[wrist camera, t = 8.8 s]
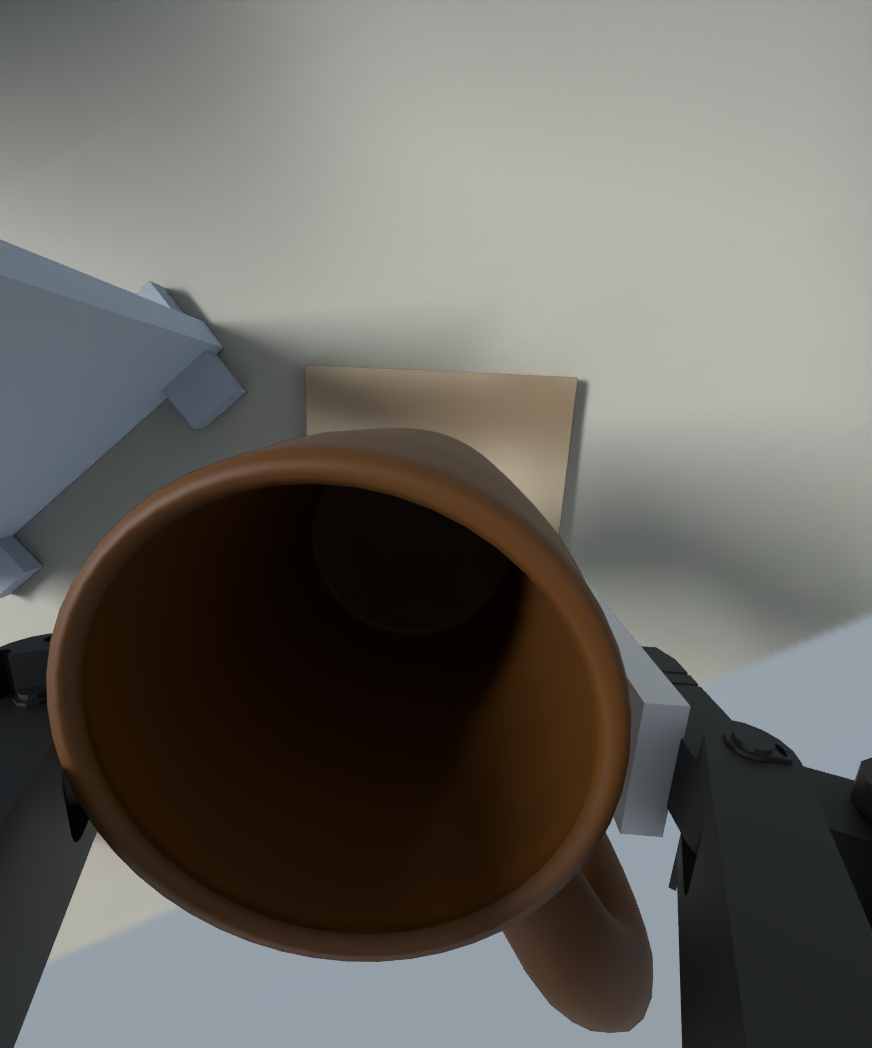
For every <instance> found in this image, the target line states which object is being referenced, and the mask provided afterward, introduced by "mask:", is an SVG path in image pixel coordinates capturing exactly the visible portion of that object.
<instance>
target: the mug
mask: <svg viewBox="0 0 872 1048" xmlns="http://www.w3.org/2000/svg"><path fill="white" fill-rule="evenodd" d="M46 680H47V708H48V714H49V720H50V725H51V731H52V737H53V741H54V744H55V747H56V750H57V753H58V756H59V760H60V763H61V766H62V769H63V771H64V773H65V776H66V778H67V780H68V782H69V784H70V786H71V788H72V790H73V793H74V795H75V797H76V799H77V801H78V802H79V804H80V805H81V807H82V808H83V810H84V812H85V813H86V815H87V816H88V818H89V820H90V821H91V823H92V824H93V826H94V827H95V829H96V830H97V831H98V832H99V834H100V835H101V836H102V837H103V839H104V840H105V841H106V842H107V844H108V845H109V846H110V847H111V849H112V850H113V851H114V852H115V853H116V854H117V855H118V856H119V857H120V858H121V859H122V860H123V861H124V862H125V863H126V864H127V865H128V866H129V867H130V868H131V869H132V870H133V871H134V872H135V873H136V874H137V875H138V876H139V877H140V878H141V879H143V880H144V881H145V882H146V883H148V884H149V885H150V886H151V887H153V888H154V889H155V890H156V891H158V892H159V893H160V894H161V895H163V896H164V897H165V898H167V899H168V900H170V901H172V902H173V903H175V904H176V905H178V906H179V907H181V908H182V909H184V910H185V911H187V912H188V913H190V914H192V915H193V916H195V917H198V918H199V919H201V920H203V921H205V922H207V923H209V924H211V925H213V926H215V927H216V928H218V929H220V930H223V931H225V932H227V933H230V934H232V935H235V936H238V937H240V938H242V939H245V940H247V941H250V942H252V943H256V944H259V945H262V946H266V947H269V948H273V949H276V950H279V951H282V952H287V953H292V954H297V955H302V956H307V957H312V958H320V959H330V960H338V961H359V962H360V961H361V962H380V961H393V960H404V959H413V958H418V957H423V956H428V955H433V954H439V953H443V952H447V951H450V950H453V949H456V948H459V947H463V946H466V945H470V944H473V943H475V942H477V941H480V940H482V939H485V938H487V937H489V936H492V935H494V934H496V933H499V932H501V931H503V933H504V934H505V936H506V938H507V940H508V942H509V943H510V945H511V947H512V948H513V950H514V952H515V954H516V956H517V957H518V959H519V961H520V963H521V964H522V966H523V968H524V970H525V972H526V973H527V974H528V975H529V977H530V978H531V980H532V981H533V982H534V984H535V985H536V986H537V988H538V989H539V990H540V991H541V993H542V994H543V996H544V997H545V998H546V999H547V1001H548V1002H549V1003H550V1005H552V1006H553V1007H554V1008H555V1009H557V1010H558V1011H559V1012H561V1013H562V1014H563V1015H564V1016H565V1017H567V1018H568V1019H569V1020H571V1021H572V1022H573V1023H576V1024H578V1025H580V1026H582V1027H584V1028H586V1029H588V1030H590V1031H597V1032H607V1033H614V1032H627V1031H630V1030H631V1029H632V1028H633V1027H635V1026H636V1025H637V1024H638V1023H639V1022H640V1021H641V1020H642V1019H644V1016H645V1013H646V1011H647V1008H648V1005H649V1003H650V1000H651V998H652V984H653V958H652V952H651V948H650V944H649V940H648V936H647V932H646V928H645V925H644V922H643V919H642V916H641V914H640V911H639V908H638V905H637V902H636V900H635V897H634V894H633V892H632V890H631V887H630V885H629V882H628V880H627V878H626V875H625V873H624V870H623V868H622V866H621V864H620V862H619V860H618V857H617V855H616V853H615V851H614V849H613V847H612V844H611V842H610V840H609V838H608V836H607V834H606V830H607V828H608V826H609V825H610V823H611V820H612V818H613V815H614V813H615V810H616V807H617V805H618V802H619V799H620V797H621V794H622V791H623V786H624V781H625V776H626V772H627V767H628V762H629V755H630V739H631V720H632V714H631V705H630V696H629V687H628V680H627V676H626V672H625V669H624V665H623V661H622V657H621V654H620V650H619V646H618V644H617V642H616V639H615V637H614V635H613V632H612V630H611V628H610V625H609V623H608V621H607V618H606V616H605V614H604V612H603V610H602V608H601V606H600V604H599V603H598V601H597V599H596V597H595V596H594V594H593V593H592V591H591V589H590V588H589V586H588V585H587V583H586V581H585V579H584V578H583V576H582V574H581V572H580V570H579V568H578V566H577V564H576V562H575V560H574V559H573V557H572V556H571V554H570V552H569V551H568V549H567V548H566V546H565V544H564V543H563V541H562V539H561V538H560V536H559V535H558V533H557V532H556V531H555V529H554V528H553V527H552V526H551V524H550V523H549V522H548V521H547V520H546V518H545V517H544V516H543V515H542V514H541V513H540V511H539V510H538V509H537V508H536V507H535V505H534V504H533V503H532V502H531V501H530V500H529V499H528V498H527V497H526V496H525V495H524V494H523V493H522V492H521V491H520V489H519V488H518V487H517V486H516V485H515V484H514V483H513V482H512V481H511V480H510V479H509V478H508V477H507V476H506V475H504V474H503V473H502V472H501V471H500V470H499V469H498V468H497V467H496V466H495V465H494V464H493V463H491V462H490V461H489V460H488V459H487V458H486V457H485V456H484V455H482V454H481V453H479V452H478V451H476V450H475V449H473V448H472V447H471V446H469V445H467V444H465V443H463V442H461V441H459V440H457V439H455V438H453V437H450V436H447V435H444V434H441V433H438V432H433V431H429V430H424V429H413V428H378V429H362V430H347V431H333V432H324V433H318V434H313V435H308V436H304V437H299V438H294V439H289V440H285V441H282V442H279V443H276V444H273V445H271V446H268V447H265V448H262V449H259V450H257V451H253V452H248V453H244V454H241V455H238V456H235V457H232V458H229V459H226V460H223V461H221V462H218V463H215V464H212V465H210V466H207V467H204V468H201V469H198V470H196V471H193V472H191V473H189V474H187V475H185V476H183V477H182V478H180V479H178V480H176V481H174V482H172V483H170V484H168V485H167V486H165V487H163V488H161V489H159V490H157V491H156V492H155V493H153V494H152V495H151V496H149V497H148V498H147V499H145V500H144V501H143V502H141V503H140V504H139V505H137V506H136V507H135V508H133V509H132V510H131V511H129V512H128V513H127V514H126V515H125V516H124V517H123V518H122V519H121V520H120V521H119V522H118V523H117V524H116V525H115V526H114V527H113V528H112V529H111V530H110V531H109V532H108V533H107V535H106V536H105V537H104V538H103V539H102V540H101V541H100V542H99V544H98V545H97V546H96V548H95V549H94V550H93V552H92V553H91V555H90V556H89V558H88V559H87V561H86V562H85V563H84V565H83V566H82V568H81V569H80V571H79V572H78V574H77V575H76V576H75V578H74V580H73V582H72V584H71V586H70V588H69V591H68V593H67V595H66V597H65V599H64V601H63V603H62V605H61V607H60V610H59V613H58V617H57V620H56V624H55V627H54V630H53V634H52V637H51V641H50V648H49V656H48V664H47V673H46Z"/></svg>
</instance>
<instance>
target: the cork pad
mask: <svg viewBox="0 0 872 1048" xmlns="http://www.w3.org/2000/svg"><path fill="white" fill-rule="evenodd" d="M577 378H578V377H557V376H535V375H513V374H491V373H469V372H446V371H424V370H402V369H380V368H358V367H336V366H313V365H305V389H306V430H307V436H308V435H313V434H318V433H324V432H333V431H347V430H362V429H378V428H413V429H424V430H429V431H433V432H438V433H441V434H444V435H447V436H450V437H453V438H455V439H457V440H459V441H461V442H463V443H465V444H467V445H469V446H471V447H472V448H473V449H475V450H476V451H478V452H479V453H481V454H482V455H484V456H485V457H486V458H487V459H488V460H489V461H490V462H491V463H493V464H494V465H495V466H496V467H497V468H498V469H499V470H500V471H501V472H502V473H503V474H504V475H506V476H507V477H508V478H509V479H510V480H511V481H512V482H513V483H514V484H515V485H516V486H517V487H518V488H519V489H520V491H521V492H522V493H523V494H524V495H525V496H526V497H527V498H528V499H529V500H530V501H531V502H532V503H533V504H534V505H535V507H536V508H537V509H538V510H539V511H540V513H541V514H542V515H543V516H544V517H545V518H546V520H547V521H548V522H549V523H550V524H551V526H552V527H553V528H554V529H555V531H556V532H557V533H558V535H559V527H560V519H561V510H562V502H563V494H564V485H565V477H566V469H567V461H568V452H569V444H570V436H571V427H572V419H573V411H574V403H575V394H576V386H577Z"/></svg>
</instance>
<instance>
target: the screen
mask: <svg viewBox="0 0 872 1048" xmlns="http://www.w3.org/2000/svg"><path fill="white" fill-rule="evenodd" d="M223 348H224V347H223V346H222V345H221V344H220V342H219V341H218V340H217V338H216V337H215V336H214V335H213V333H212V332H211V331H210V330H209V328H208V327H207V326H206V324H205V323H204V322H203V321H201V320H199V319H196V318H194V317H191V316H189V315H186V314H184V312H183V311H182V310H181V309H180V307H179V306H178V305H177V304H176V302H175V301H174V300H173V298H172V297H171V296H170V295H169V293H168V292H167V291H166V290H165V288H164V287H162V286H160V285H157V284H155V283H153V282H151V281H148V282H147V283H146V284H145V285H144V286H143V287H142V288H141V289H140V290H139V291H138V292H137V293H136V294H134V293H132V292H129V291H127V290H124V289H122V288H119V287H117V286H114V285H112V284H109V283H107V282H104V281H102V280H99V279H97V278H94V277H92V276H89V275H87V274H84V273H82V272H79V271H77V270H74V269H72V268H70V267H67V266H65V265H62V264H60V263H57V262H55V261H52V260H50V259H47V258H45V257H42V256H40V255H37V254H35V253H32V252H30V251H27V250H25V249H22V248H20V247H17V246H15V245H12V244H10V243H7V242H5V241H3V240H0V598H2V597H5V596H7V595H10V594H11V593H12V592H13V591H14V590H16V589H17V588H18V587H19V586H20V585H21V584H23V583H24V582H25V581H26V580H27V579H28V578H30V577H31V576H32V575H33V574H34V573H36V572H37V571H38V570H39V569H40V568H41V567H43V566H42V565H41V564H40V563H39V562H38V561H37V560H36V559H35V558H34V557H33V556H32V554H31V553H30V552H29V551H28V550H27V549H26V548H25V547H24V546H23V545H22V544H21V543H20V542H19V541H18V540H17V539H16V538H15V537H14V536H13V535H14V534H15V533H16V532H17V531H18V530H20V529H21V528H22V527H23V526H24V525H25V524H26V523H27V522H29V521H30V520H31V519H32V518H33V517H34V516H35V515H36V514H38V513H39V512H40V511H41V510H42V509H43V508H44V507H45V506H47V505H48V504H49V503H50V502H51V501H52V500H53V499H54V498H56V497H57V496H58V495H59V494H60V493H61V492H62V491H63V490H64V489H66V488H67V487H68V486H69V485H70V484H71V483H72V482H73V481H75V480H76V479H77V478H78V477H79V476H80V475H81V474H82V473H84V472H85V471H86V470H87V469H88V468H89V467H90V466H91V465H93V464H94V463H95V462H96V461H97V460H98V459H99V458H100V457H102V456H103V455H104V454H105V453H106V452H107V451H108V450H109V449H111V448H112V447H113V446H114V445H115V444H116V443H117V442H118V441H119V440H121V439H122V438H123V437H124V436H125V435H126V434H127V433H128V432H130V431H131V430H132V429H133V428H134V427H135V426H136V425H137V424H139V423H140V422H141V421H142V420H143V419H144V418H145V417H146V416H148V415H149V414H150V413H151V412H152V411H153V410H154V409H155V408H157V407H158V406H159V405H160V404H161V403H162V402H163V401H164V400H166V399H167V398H168V399H169V401H170V402H171V403H172V404H173V405H174V407H175V408H176V409H177V410H178V411H179V413H180V414H181V415H182V416H183V417H184V419H185V420H186V421H187V422H188V423H189V425H190V426H191V427H192V428H205V427H206V426H208V425H209V424H210V423H211V422H212V421H213V420H215V419H216V418H217V417H218V416H219V415H221V414H222V413H223V412H224V411H225V410H226V409H228V408H229V407H230V406H231V405H232V404H233V403H235V402H236V401H237V400H238V399H239V398H240V397H242V396H243V395H244V394H245V393H246V391H245V390H244V388H243V387H242V386H241V385H240V383H239V382H238V381H237V379H236V378H235V377H234V376H233V374H232V373H231V372H230V371H229V369H228V368H227V367H226V366H225V364H224V363H223V362H222V360H221V359H220V358H219V357H218V355H217V353H218V352H219V351H221V350H222V349H223Z"/></svg>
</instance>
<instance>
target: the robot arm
mask: <svg viewBox="0 0 872 1048" xmlns="http://www.w3.org/2000/svg"><path fill="white" fill-rule="evenodd" d="M583 578H584V577H583ZM585 581H586V580H585ZM586 583H587V585H588V586H589V588H590V589H591V591H592V593H593V594H594V596H595V597H596V599H597V601H598V603H599V604H600V606H601V608H602V610H603V612H604V614H605V616H606V618H607V621H608V623H609V625H610V628H611V630H612V632H613V635H614V637H615V639H616V642H617V644H618V646H619V650H620V654H621V657H622V661H623V665H624V669H625V672H626V676H627V680H628V687H629V696H630V705H631V714H632V720H631V739H630V755H629V762H628V767H627V772H626V776H625V781H624V786H623V791H622V794H621V797H620V799H619V802H618V805H617V807H616V810H615V813H614V815H613V817H614V819H615V822H616V824H617V827H618V829H619V831H620V833H622V834H634V835H645V836H657V837H658V836H659V837H663V832H664V827H665V822H666V818H667V814H668V810H669V812H670V814H671V815H672V817H673V819H674V821H675V823H676V824H677V826H678V828H679V830H680V832H681V835H680V839H679V844H678V848H677V853H676V857H675V861H674V866H673V870H672V874H671V879H670V883H669V888H671V889H673V890H676V888H677V890H678V891H677V892H678V925H679V958H680V988H681V989H680V990H681V1021H682V1022H681V1023H682V1048H872V758H869V759H866V760H864V761H861V764H860V767H859V770H858V773H857V776H856V779H855V781H854V780H850V779H847V778H843V777H840V776H836V775H832V774H829V773H825V772H822V771H818V770H814V769H811V768H807V767H804V766H803V765H802V763H801V762H800V760H799V759H798V757H797V756H796V755H795V753H794V752H793V751H792V750H791V749H790V748H789V747H787V746H786V745H785V744H784V743H783V742H781V741H780V740H779V739H777V738H775V737H774V736H772V735H770V734H768V733H767V732H765V731H763V730H761V729H758V728H756V727H753V726H751V725H748V724H745V723H741V722H737V721H732V720H731V719H730V718H729V717H728V716H727V715H726V714H725V713H724V711H723V710H722V709H721V708H720V707H719V706H718V705H717V704H716V703H715V702H714V701H713V700H712V699H711V697H710V696H709V695H708V694H707V693H706V692H705V691H704V690H703V689H702V688H701V687H698V684H697V682H696V681H695V680H694V679H693V678H692V677H691V676H690V675H687V672H686V671H685V670H684V668H683V667H682V666H681V665H680V664H679V663H678V662H677V661H676V660H675V659H674V658H672V657H670V656H669V655H667V654H666V653H664V652H662V651H661V650H659V649H658V648H656V647H642V646H640V645H639V644H638V642H637V641H636V640H635V639H634V638H633V636H632V635H631V634H630V633H629V632H628V630H627V629H626V628H625V627H624V626H623V624H622V623H621V622H620V621H619V619H618V618H617V617H616V616H615V615H614V613H613V612H612V611H611V610H610V609H609V607H608V606H607V605H606V604H605V603H604V601H603V600H602V599H601V598H600V597H599V595H598V594H597V593H596V592H595V591H594V589H593V588H592V587H591V586H590V585H589V583H588V582H587V581H586ZM52 634H53V633H52ZM52 634H45V635H39V636H33V637H29V638H26V639H22V640H19V641H15V642H12V643H9V644H7V645H4V646H2V647H0V1048H14V1045H15V1042H16V1040H17V1037H18V1035H19V1032H20V1030H21V1027H22V1025H23V1022H24V1020H25V1017H26V1014H27V1012H28V1009H29V1007H30V1004H31V1001H32V999H33V996H34V994H35V991H36V988H37V986H38V983H39V981H40V978H41V975H42V973H43V970H44V968H45V965H46V962H47V960H48V957H49V955H50V952H51V950H52V947H53V944H54V942H55V939H56V937H57V934H58V931H59V929H60V926H61V924H62V921H63V918H64V916H65V913H66V911H67V908H68V905H69V903H70V900H71V898H72V895H73V892H74V890H75V887H76V885H77V882H78V880H79V877H80V874H81V872H82V869H83V867H84V864H85V861H86V859H87V856H88V854H89V851H90V848H91V846H92V843H93V841H94V838H95V835H96V833H97V830H96V829H95V827H94V826H93V824H92V823H91V821H90V820H89V818H88V816H87V815H86V813H85V812H84V810H83V808H82V807H81V805H80V804H79V802H78V801H77V799H76V797H75V795H74V793H73V790H72V788H71V786H70V784H69V782H68V780H67V778H66V776H65V773H64V771H63V769H62V766H61V763H60V760H59V756H58V753H57V750H56V747H55V744H54V741H53V737H52V731H51V725H50V720H49V714H48V708H47V680H46V673H47V664H48V656H49V648H50V641H51V637H52Z"/></svg>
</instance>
